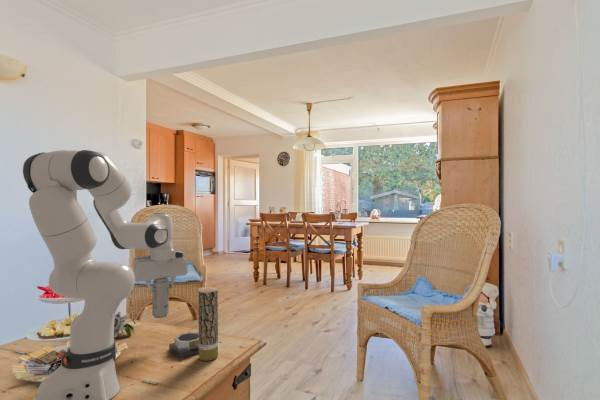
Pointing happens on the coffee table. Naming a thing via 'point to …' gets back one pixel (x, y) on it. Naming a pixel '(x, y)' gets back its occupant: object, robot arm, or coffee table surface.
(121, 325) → the passion flower
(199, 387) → the coffee table surface
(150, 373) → the coffee table surface
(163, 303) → the energy drink can
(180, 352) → the can mount
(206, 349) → the bark patterned cylinder
